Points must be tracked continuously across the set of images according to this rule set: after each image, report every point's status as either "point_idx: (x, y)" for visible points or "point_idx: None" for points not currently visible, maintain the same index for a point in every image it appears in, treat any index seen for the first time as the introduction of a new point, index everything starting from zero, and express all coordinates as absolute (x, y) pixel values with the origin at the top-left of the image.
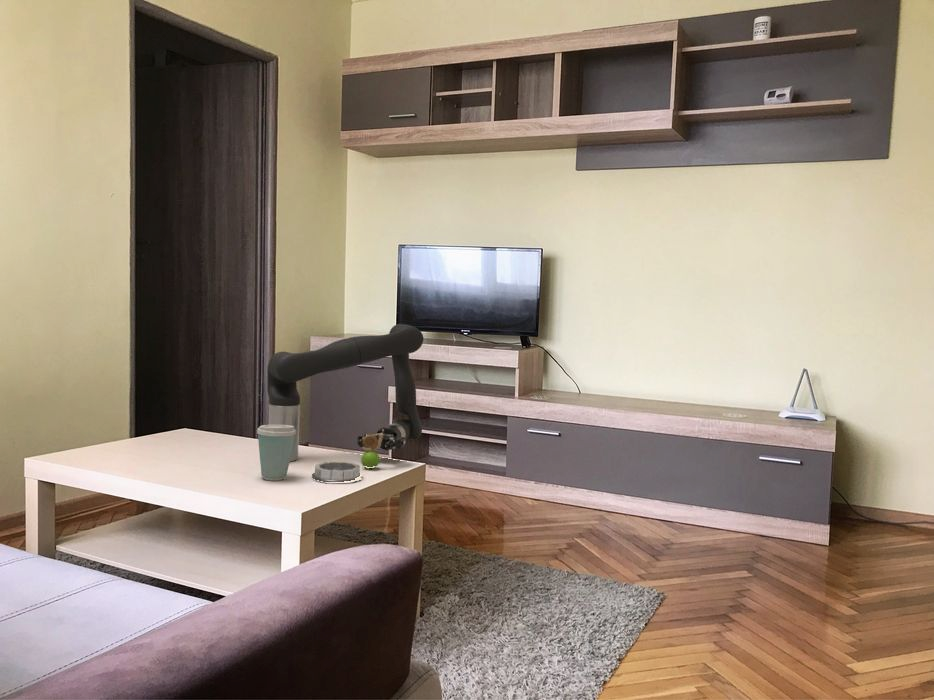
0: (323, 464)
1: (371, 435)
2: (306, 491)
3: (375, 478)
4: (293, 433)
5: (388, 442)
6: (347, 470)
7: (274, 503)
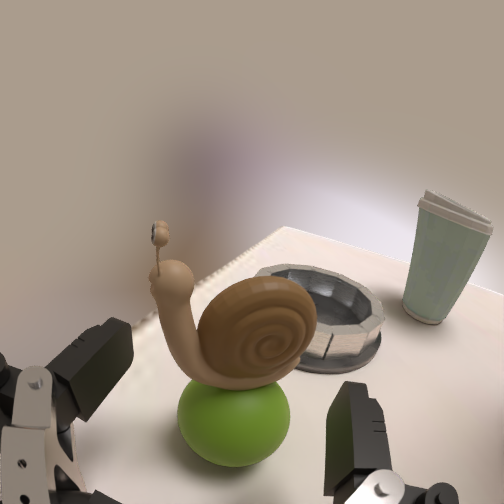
0: (371, 312)
1: (259, 276)
2: (320, 264)
3: (195, 321)
4: (421, 204)
5: (110, 321)
6: (277, 268)
7: (328, 242)
